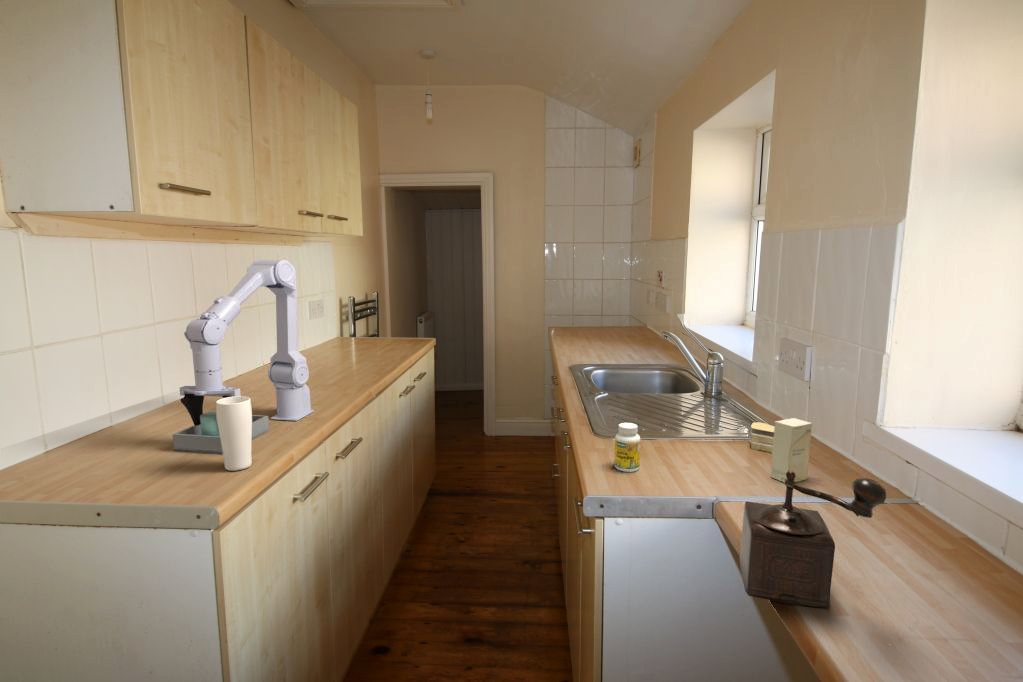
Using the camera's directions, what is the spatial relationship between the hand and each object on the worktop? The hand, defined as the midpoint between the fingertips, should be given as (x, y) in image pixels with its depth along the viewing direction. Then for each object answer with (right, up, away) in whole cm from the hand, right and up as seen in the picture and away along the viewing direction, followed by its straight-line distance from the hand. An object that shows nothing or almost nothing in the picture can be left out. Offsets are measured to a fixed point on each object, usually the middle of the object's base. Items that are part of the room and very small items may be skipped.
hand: (212, 425), depth 132 cm
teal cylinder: (0, -4, +1) cm, 4 cm away
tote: (+1, -4, +4) cm, 6 cm away
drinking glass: (+12, -7, -13) cm, 19 cm away
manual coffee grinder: (+112, -15, -54) cm, 126 cm away
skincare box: (+129, -9, -17) cm, 131 cm away
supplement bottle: (+97, -8, -12) cm, 98 cm away
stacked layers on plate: (+132, -6, +1) cm, 132 cm away
